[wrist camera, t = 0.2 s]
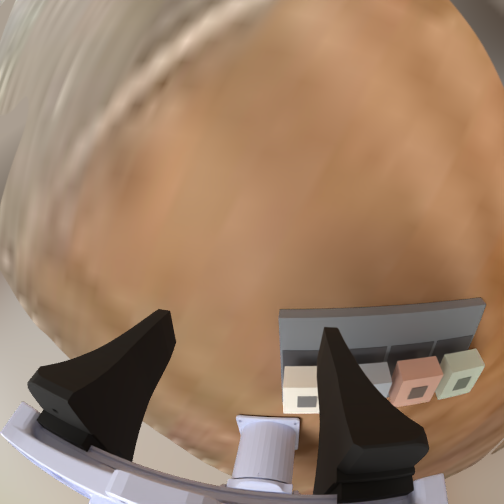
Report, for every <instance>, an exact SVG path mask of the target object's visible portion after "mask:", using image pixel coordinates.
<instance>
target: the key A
mask: <svg viewBox="0 0 504 504" xmlns="http://www.w3.org/2000/svg"><path fill="white" fill-rule="evenodd" d="M283 412H284V413H294V414H309V413H319V401H318V389H317V366H285V369H284V380H283Z"/></svg>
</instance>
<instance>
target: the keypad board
mask: <svg viewBox="0 0 504 504" xmlns="http://www.w3.org/2000/svg"><path fill="white" fill-rule="evenodd" d="M485 306H486V303H485V302H484V301H483V300H482V298H481V297H480V298H472V299H463V300H454V301H444V302H434V303H422V304H409V305H395V306H379V307H359V308H333V309H280V311H279V335H280V355H281V378H282V402H283V380H284V369H285V366H317V357H318V352H319V348H320V343H321V339H322V334H323V329H324V327H337V328H338V329H339V331H340V333H341V335H342V337H343V339H344V341H345V343H346V344H347V346H348V348H349V350H350V351H351V353H352V355H353V356H354V358H355V360H356V361H357V363H358V364H369V363H381V362H387V363H388V367H389V371H390V375H391V378H392V375H393V373H394V370H395V367H396V364H397V361H401V360H410V359H417V358H425V357H431V356H436V357H437V360H438V362H439V365H440V364H441V361H442V359H443V357H444V355H445V354H450V353H456V352H461V351H466V350H468V348H469V346H470V344H471V342H472V339H473V337H474V335H475V332H476V330H477V327H478V325H479V322H480V320H481V317H482V315H483V312H484V309H485ZM387 397H389V392H388V395H387Z"/></svg>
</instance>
